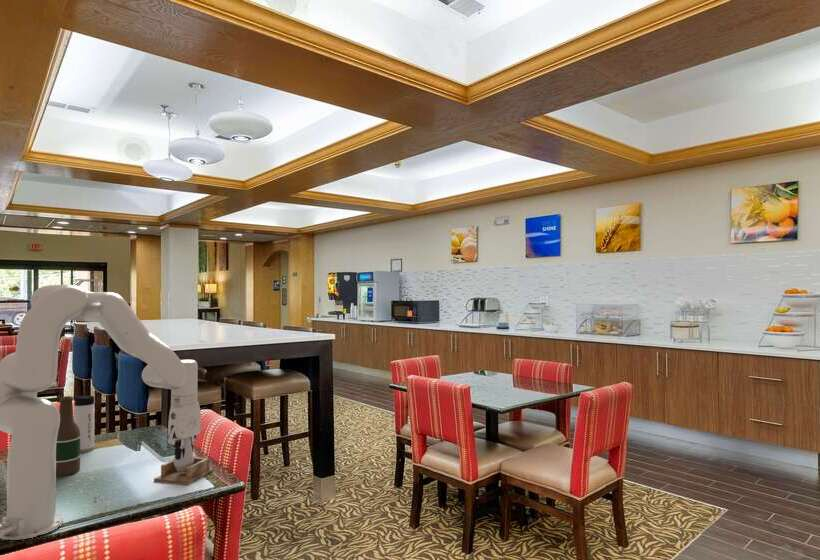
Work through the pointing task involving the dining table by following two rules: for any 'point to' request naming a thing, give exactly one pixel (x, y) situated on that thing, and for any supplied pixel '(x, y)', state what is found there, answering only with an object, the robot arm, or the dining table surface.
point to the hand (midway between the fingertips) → (184, 458)
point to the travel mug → (85, 420)
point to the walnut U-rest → (184, 472)
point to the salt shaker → (185, 457)
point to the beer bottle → (67, 440)
